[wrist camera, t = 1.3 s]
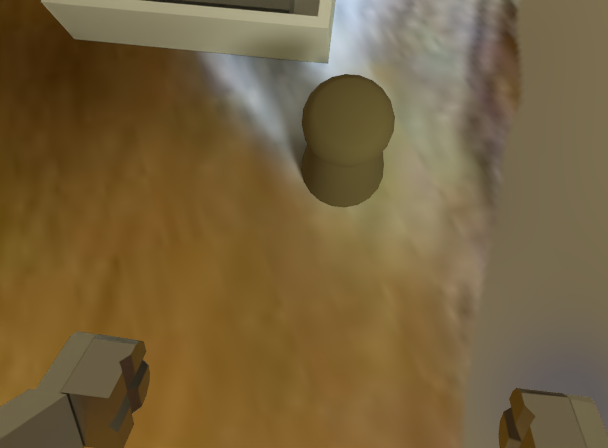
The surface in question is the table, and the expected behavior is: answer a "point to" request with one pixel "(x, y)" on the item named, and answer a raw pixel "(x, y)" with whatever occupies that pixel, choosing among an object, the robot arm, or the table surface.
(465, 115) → the table surface
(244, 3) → the tin box
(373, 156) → the cork
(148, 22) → the tote
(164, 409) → the table surface
